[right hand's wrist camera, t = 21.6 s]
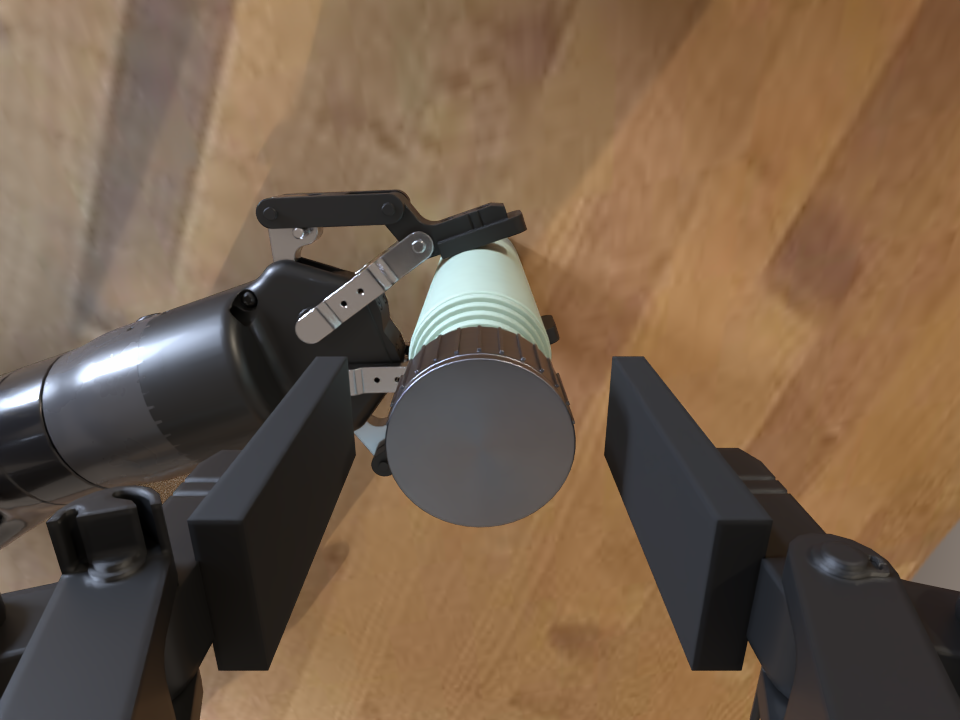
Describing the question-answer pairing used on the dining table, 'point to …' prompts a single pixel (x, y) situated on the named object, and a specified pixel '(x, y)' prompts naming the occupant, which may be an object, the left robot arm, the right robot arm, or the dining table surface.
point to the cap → (480, 428)
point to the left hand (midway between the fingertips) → (537, 274)
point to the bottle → (480, 297)
